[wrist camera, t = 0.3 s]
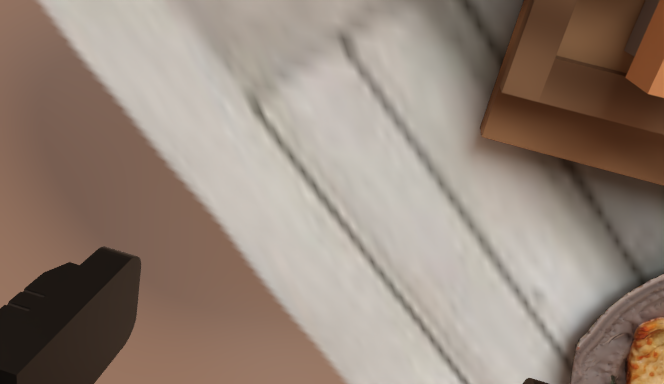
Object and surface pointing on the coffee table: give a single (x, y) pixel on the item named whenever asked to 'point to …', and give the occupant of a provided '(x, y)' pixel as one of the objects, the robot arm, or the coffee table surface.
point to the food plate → (625, 341)
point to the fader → (648, 49)
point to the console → (577, 89)
